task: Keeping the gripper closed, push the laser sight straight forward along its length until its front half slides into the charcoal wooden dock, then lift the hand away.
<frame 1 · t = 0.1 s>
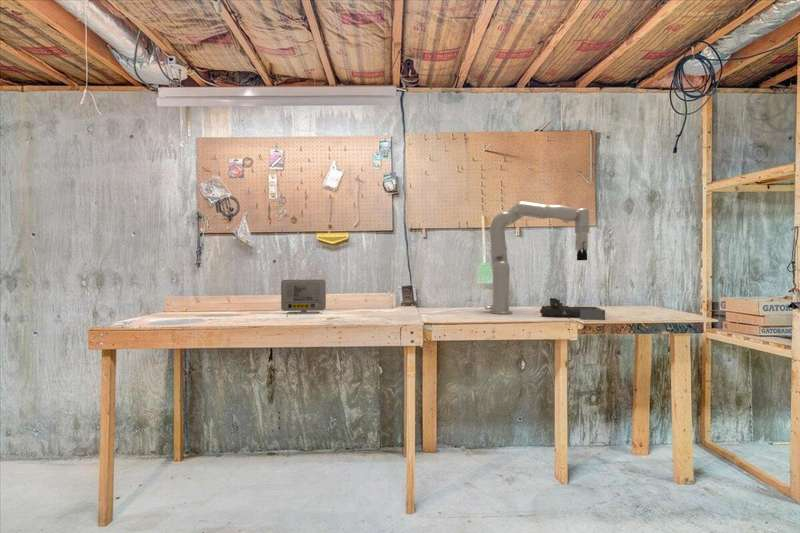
hand: (581, 260, 237), 31 cm above the table, tool pointing down, fingers open, 9 cm apart
laser sight: (561, 317, 229), on the table
dock: (588, 317, 226), on the table
network device: (303, 313, 246), on the table
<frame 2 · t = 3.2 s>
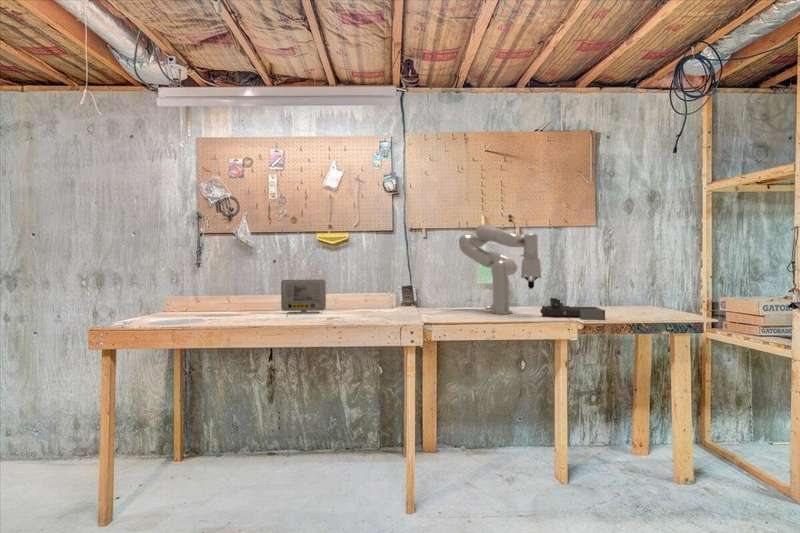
hand: (531, 288, 231), 15 cm above the table, tool pointing down, fingers closed
nothing on the table moved.
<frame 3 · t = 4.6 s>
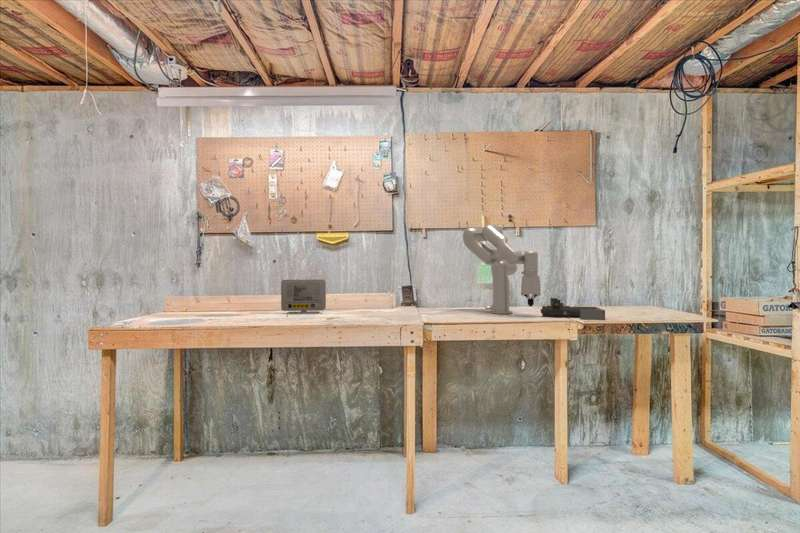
hand: (530, 306, 232), 6 cm above the table, tool pointing down, fingers closed
nothing on the table moved.
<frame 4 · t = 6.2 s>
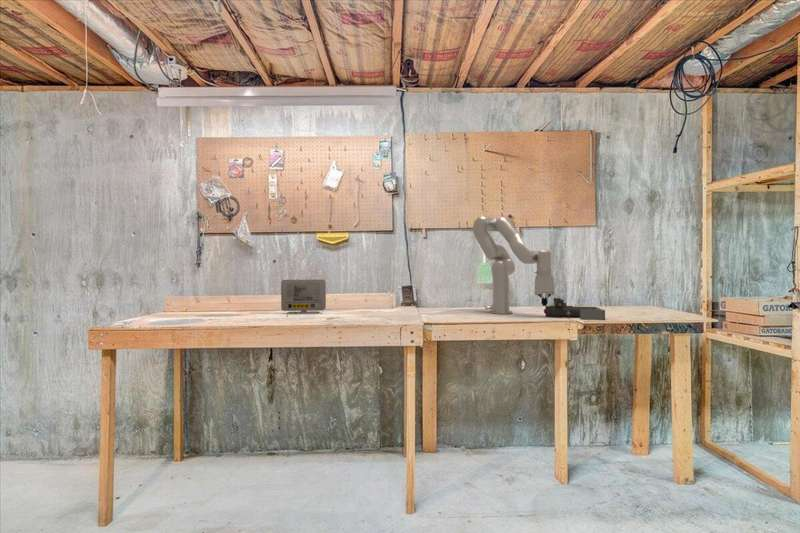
hand: (544, 305, 230), 6 cm above the table, tool pointing down, fingers closed
laser sight: (565, 317, 228), on the table, touching gripper
everything else where it was.
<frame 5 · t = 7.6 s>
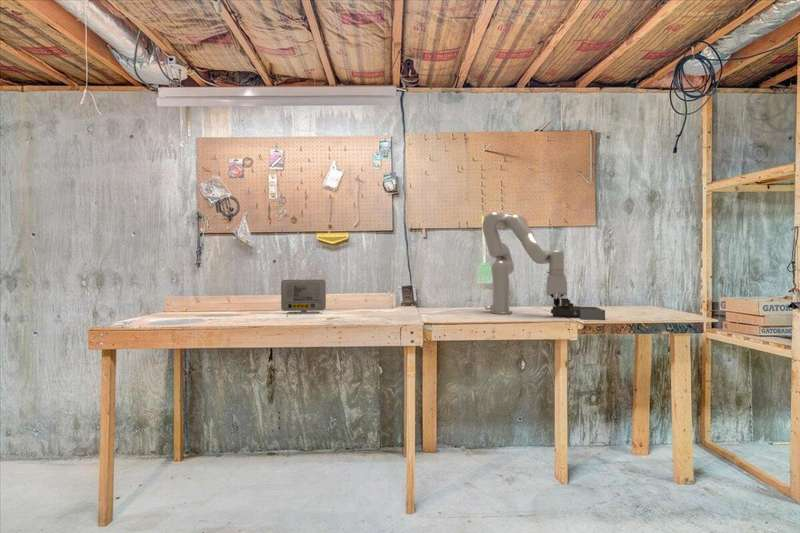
hand: (556, 305, 229), 6 cm above the table, tool pointing down, fingers closed
laser sight: (572, 317, 228), on the table, touching gripper
everything else where it was.
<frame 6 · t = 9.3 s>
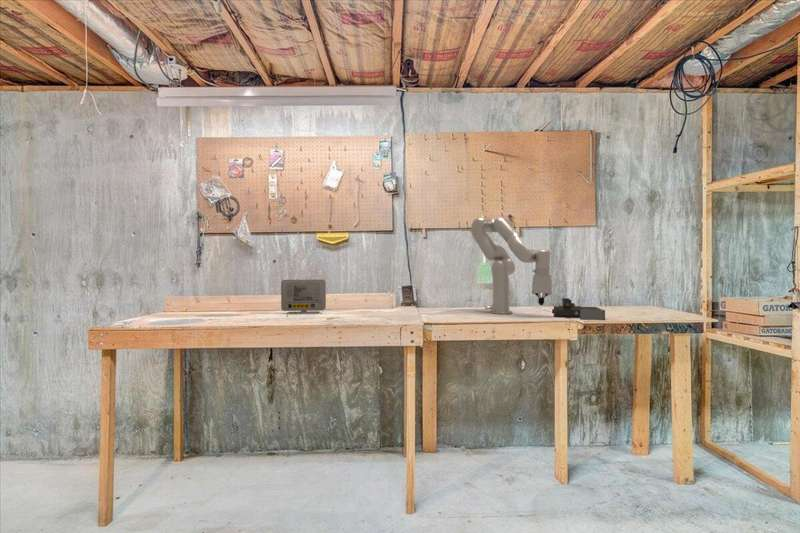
hand: (541, 304, 231), 6 cm above the table, tool pointing down, fingers closed
laser sight: (573, 317, 228), on the table
everything else where it was.
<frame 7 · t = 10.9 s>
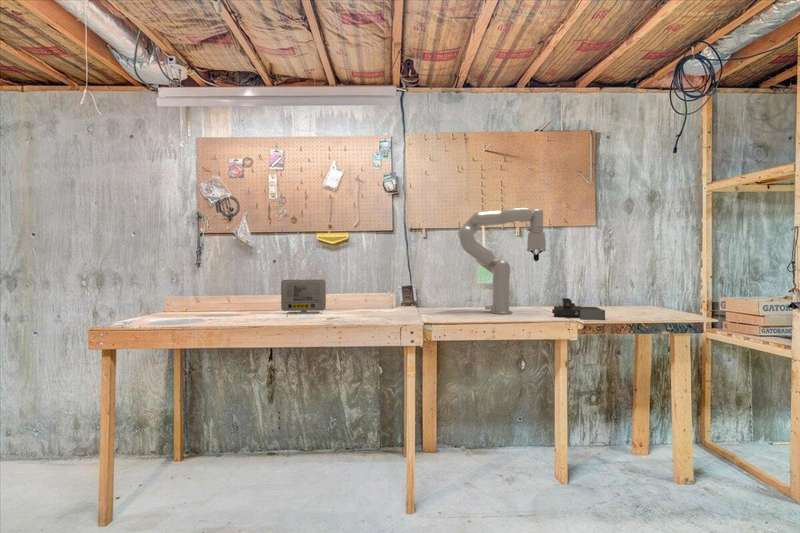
hand: (536, 261, 245), 31 cm above the table, tool pointing down, fingers closed
nothing on the table moved.
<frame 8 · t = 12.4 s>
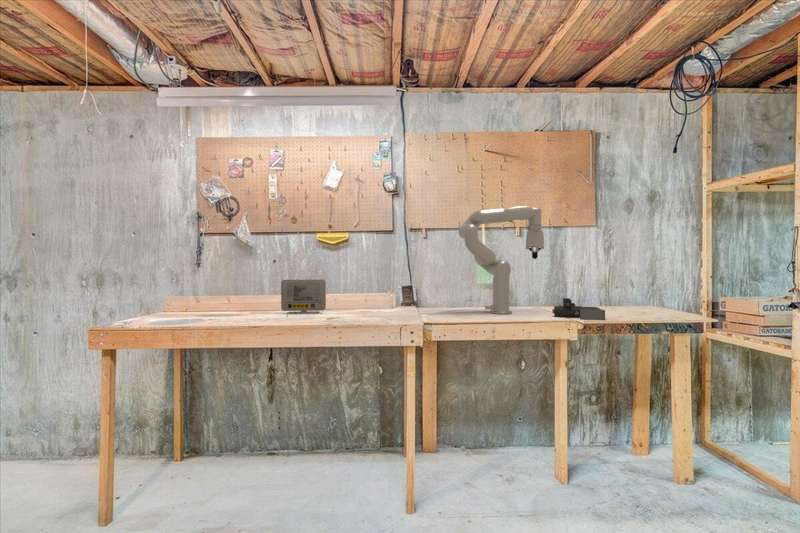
hand: (534, 258, 250), 32 cm above the table, tool pointing down, fingers closed
nothing on the table moved.
at the end: laser sight 0.9 cm from the target spot on the dock, point 0.0 cm above the dock's base; laser sight moved 6.8 cm from its start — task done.
